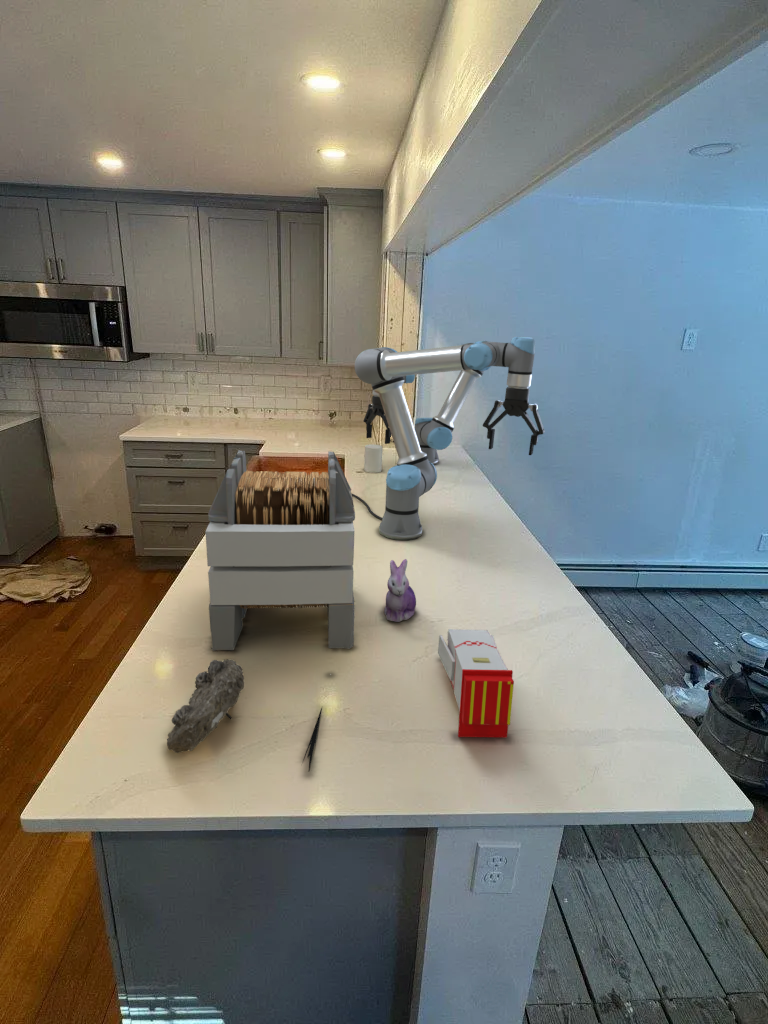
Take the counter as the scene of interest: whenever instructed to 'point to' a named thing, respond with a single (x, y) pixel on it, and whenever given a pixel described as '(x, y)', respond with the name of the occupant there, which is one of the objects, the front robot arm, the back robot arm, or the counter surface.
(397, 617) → the figurine
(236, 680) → the fossil
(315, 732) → the feather
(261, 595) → the record crate
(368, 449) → the can
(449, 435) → the back robot arm
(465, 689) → the toy
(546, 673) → the counter surface
